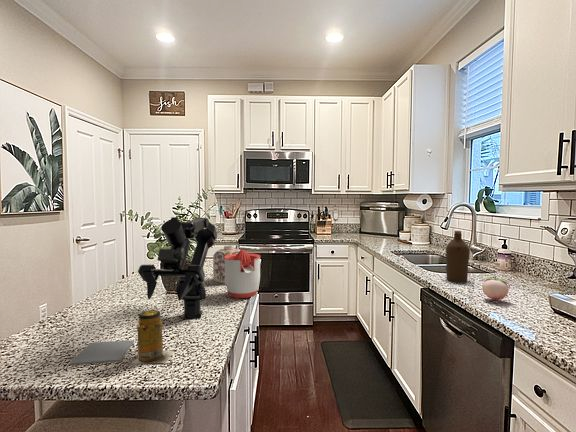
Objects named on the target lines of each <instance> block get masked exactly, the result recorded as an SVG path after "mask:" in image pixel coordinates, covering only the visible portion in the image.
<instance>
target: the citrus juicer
mask: <svg viewBox="0 0 576 432" xmlns="http://www.w3.org/2000/svg"><path fill="white" fill-rule="evenodd" d="M224 258H225V282H226V284H225V286H226V290H227V293H228V295H229V296H230V297H232V298H235V299H245V298H246V299H247V298H253V297H255V296H256V295H257V293H258V291H259V287H260V281H261V254H257V253H248V252H247V251H246V250H245V249H244V248H242V249H240V251H239V252H238V254H230V255H226V256H224Z"/></svg>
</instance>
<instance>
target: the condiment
mask: <svg viewBox="0 0 576 432" xmlns="http://www.w3.org/2000/svg"><path fill="white" fill-rule="evenodd" d="M136 328H137V357H136V358H135V359H134V360H133V361H132V362H131V364H136V365H137V364H139V365H140V364H142V365H144V364H166V362H167V361H168V360H169V359H170V357H171V356H172V355H173V353H174V352H175V350H163V349H164V347H163V346H164V344H163V340H164V339H163V322H162V319H161V312H160V311H159V310H157V309H150V310H144V311H142V312H140V313H139V314H138V324H137V326H136Z"/></svg>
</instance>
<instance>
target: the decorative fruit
mask: <svg viewBox="0 0 576 432" xmlns="http://www.w3.org/2000/svg"><path fill="white" fill-rule="evenodd" d="M482 281H483V283H482V286H481V287H482V288H481V289H482V292H483V293H484V295H485V296H486V297H487V298H489V299H490V300H492V301H494V302H496V301H499V300H503V299H504V298H506V297H507V295H508V294H509V285H510V283H509V282H508V281H507V280H506V279H500V278H498V279H497V276H495V277H494V278H493V277H486V278H482Z"/></svg>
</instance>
